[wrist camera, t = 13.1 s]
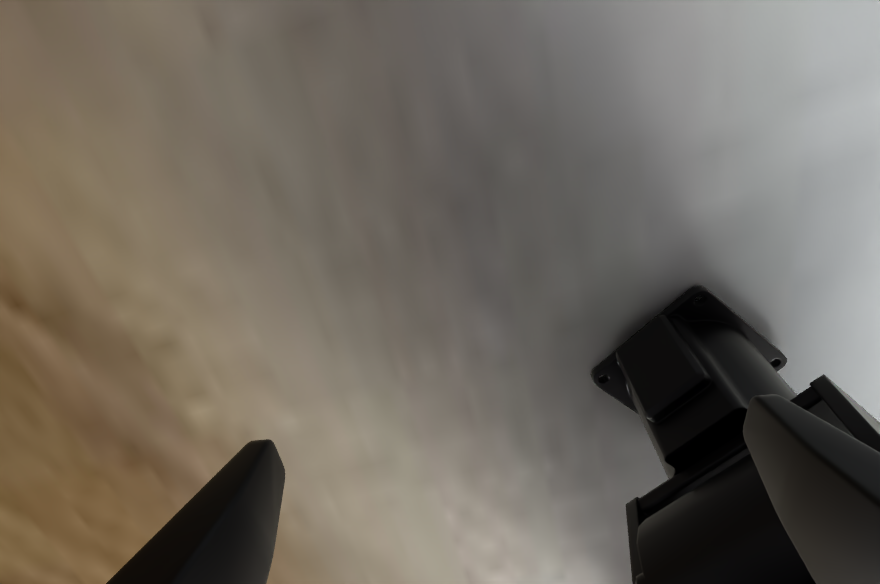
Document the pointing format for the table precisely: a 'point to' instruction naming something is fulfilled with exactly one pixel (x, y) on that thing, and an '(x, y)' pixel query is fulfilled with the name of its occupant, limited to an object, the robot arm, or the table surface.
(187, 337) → the table surface
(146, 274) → the table surface
